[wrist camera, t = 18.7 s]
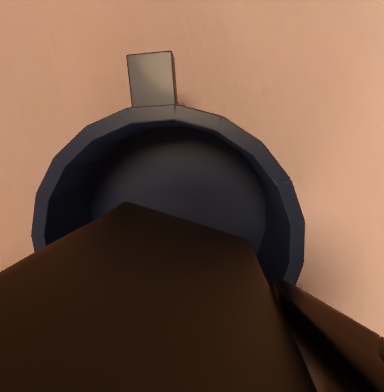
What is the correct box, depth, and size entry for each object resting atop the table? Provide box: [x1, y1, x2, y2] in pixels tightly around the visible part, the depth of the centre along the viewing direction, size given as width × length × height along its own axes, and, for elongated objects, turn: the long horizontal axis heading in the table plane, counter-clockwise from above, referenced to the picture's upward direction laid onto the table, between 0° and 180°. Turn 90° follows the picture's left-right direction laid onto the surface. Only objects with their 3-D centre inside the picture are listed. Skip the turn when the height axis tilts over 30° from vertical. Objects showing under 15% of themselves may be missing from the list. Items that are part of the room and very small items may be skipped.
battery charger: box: [0, 202, 317, 392], centre depth 7 cm, size 7×4×11 cm, turn 73°
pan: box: [31, 51, 305, 292], centre depth 18 cm, size 16×21×6 cm
